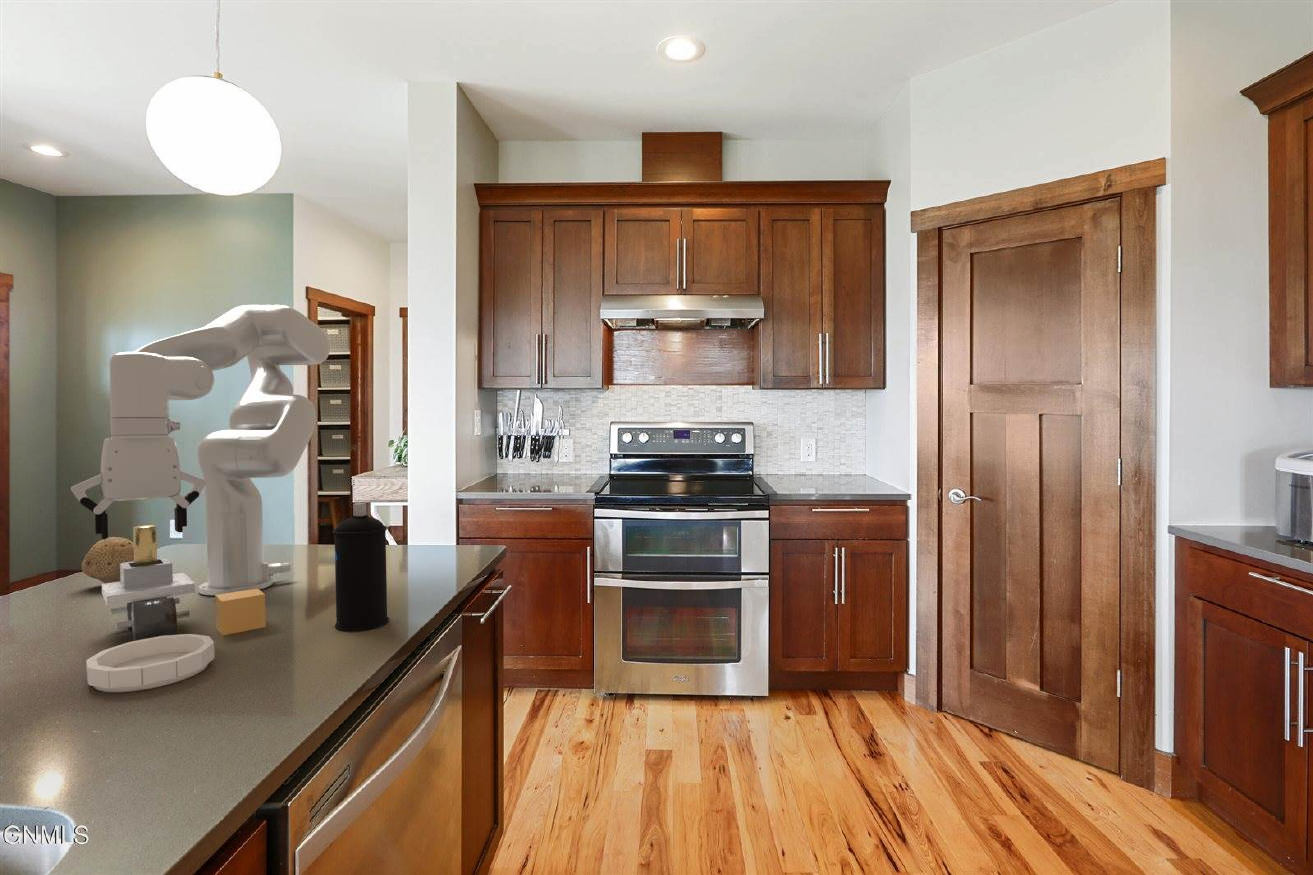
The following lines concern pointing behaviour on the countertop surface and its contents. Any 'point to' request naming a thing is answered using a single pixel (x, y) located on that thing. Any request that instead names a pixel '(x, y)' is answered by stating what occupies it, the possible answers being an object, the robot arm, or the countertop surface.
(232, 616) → the orange cube
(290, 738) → the countertop surface
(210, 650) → the dish
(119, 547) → the natural sponge
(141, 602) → the white stand
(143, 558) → the pin
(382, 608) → the aerosol can
